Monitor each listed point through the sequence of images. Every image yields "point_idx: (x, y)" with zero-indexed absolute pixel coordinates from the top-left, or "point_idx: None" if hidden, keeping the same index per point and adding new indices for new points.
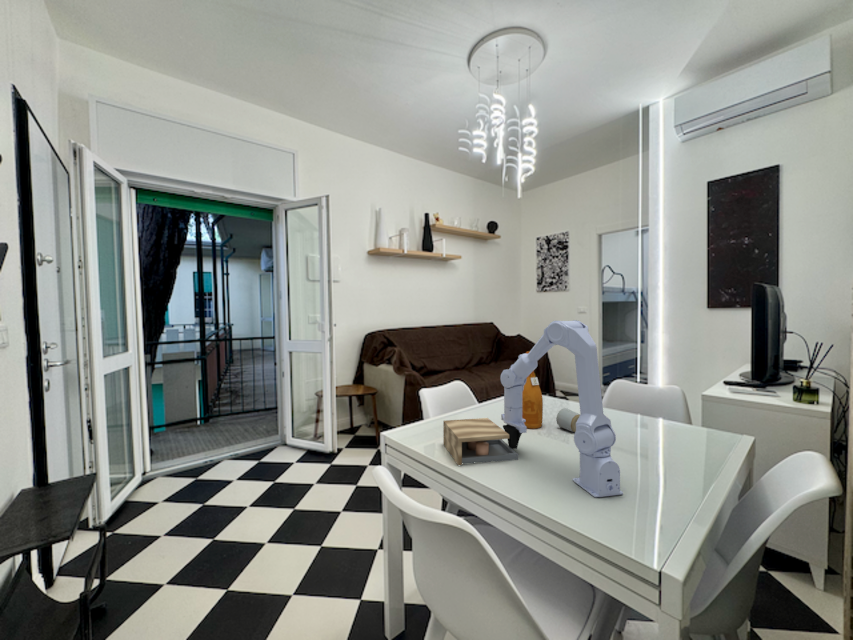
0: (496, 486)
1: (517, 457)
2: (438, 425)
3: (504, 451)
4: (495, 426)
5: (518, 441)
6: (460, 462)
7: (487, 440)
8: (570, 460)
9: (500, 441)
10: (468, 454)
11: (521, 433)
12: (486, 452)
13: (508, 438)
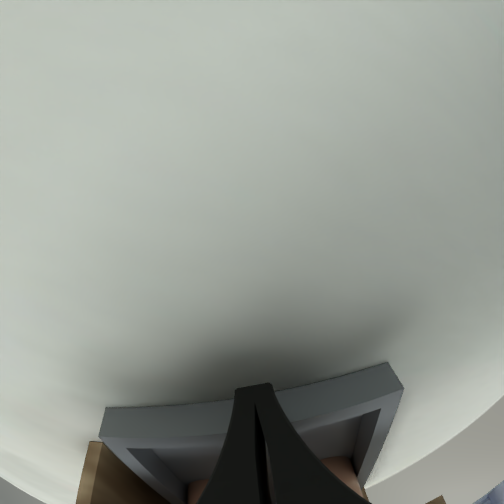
0: (493, 400)
1: (393, 375)
2: (16, 477)
3: None
4: None
5: (292, 426)
6: (363, 491)
7: (157, 479)
8: (444, 8)
9: (149, 445)
10: None
11: (351, 490)
12: (357, 483)
13: (440, 497)
